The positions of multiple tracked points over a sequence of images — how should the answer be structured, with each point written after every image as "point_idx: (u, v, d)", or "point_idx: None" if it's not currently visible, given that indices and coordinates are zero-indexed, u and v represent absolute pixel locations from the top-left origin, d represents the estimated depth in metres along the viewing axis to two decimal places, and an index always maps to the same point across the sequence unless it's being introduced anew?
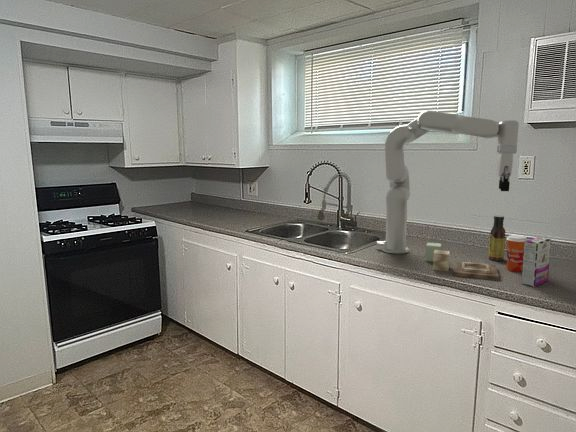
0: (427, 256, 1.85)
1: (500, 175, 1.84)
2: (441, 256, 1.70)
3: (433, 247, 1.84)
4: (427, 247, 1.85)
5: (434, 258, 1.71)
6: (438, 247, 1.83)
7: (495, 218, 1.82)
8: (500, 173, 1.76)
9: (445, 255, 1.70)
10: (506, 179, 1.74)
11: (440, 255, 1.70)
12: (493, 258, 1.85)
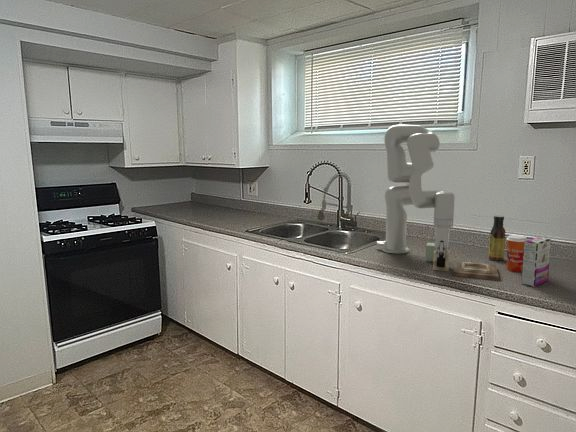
0: (427, 256, 1.85)
1: None
2: None
3: (433, 247, 1.84)
4: (427, 247, 1.85)
5: (434, 258, 1.71)
6: None
7: (495, 218, 1.82)
8: (436, 247, 1.69)
9: (445, 255, 1.70)
10: (441, 256, 1.68)
11: None
12: (493, 258, 1.85)
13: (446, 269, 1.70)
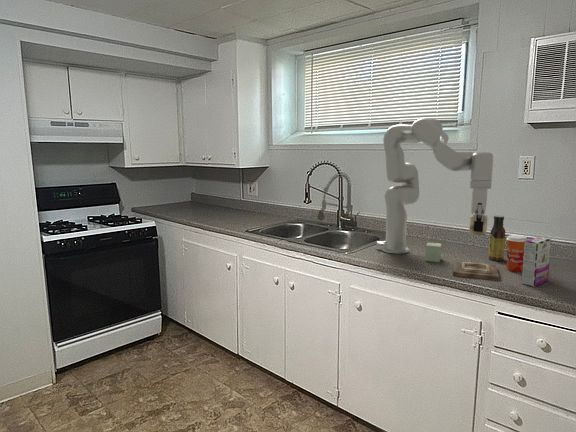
0: (427, 256, 1.85)
1: None
2: None
3: (433, 247, 1.84)
4: (427, 247, 1.85)
5: (471, 222, 1.63)
6: (438, 247, 1.83)
7: (495, 218, 1.82)
8: (473, 210, 1.60)
9: (483, 218, 1.61)
10: (479, 219, 1.59)
11: None
12: (493, 258, 1.85)
13: (484, 233, 1.62)
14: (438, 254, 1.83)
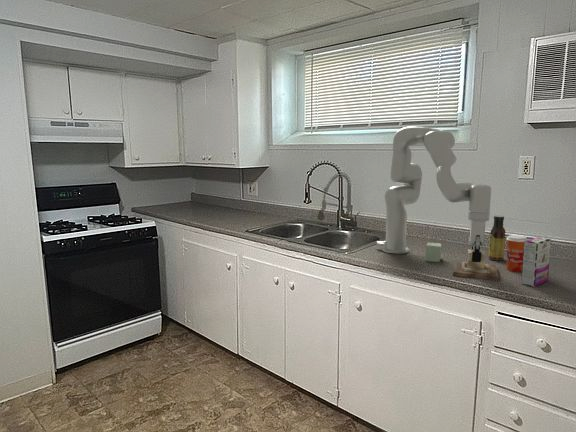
0: (427, 256, 1.85)
1: None
2: None
3: (433, 247, 1.84)
4: (427, 247, 1.85)
5: (469, 258, 1.65)
6: (438, 247, 1.83)
7: (495, 218, 1.82)
8: (471, 242, 1.62)
9: None
10: (477, 250, 1.60)
11: None
12: (493, 258, 1.85)
13: None
14: (438, 254, 1.83)
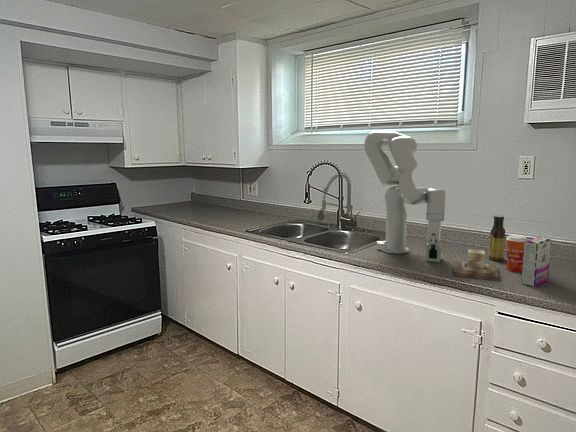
0: (427, 256, 1.85)
1: (431, 240, 1.89)
2: (476, 256, 1.64)
3: None
4: (427, 247, 1.84)
5: (469, 258, 1.65)
6: (438, 247, 1.83)
7: (495, 218, 1.82)
8: (428, 240, 1.82)
9: (480, 255, 1.64)
10: (433, 248, 1.81)
11: (475, 255, 1.64)
12: (493, 258, 1.85)
13: None
14: (438, 254, 1.83)
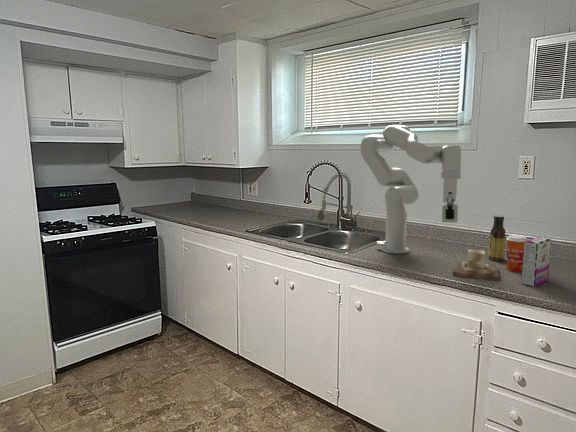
0: (444, 217, 1.75)
1: None
2: (476, 256, 1.64)
3: None
4: (443, 207, 1.75)
5: (469, 258, 1.65)
6: (455, 206, 1.73)
7: (495, 218, 1.82)
8: (444, 199, 1.72)
9: (480, 255, 1.64)
10: (450, 207, 1.72)
11: (475, 255, 1.64)
12: (493, 258, 1.85)
13: None
14: (455, 214, 1.73)
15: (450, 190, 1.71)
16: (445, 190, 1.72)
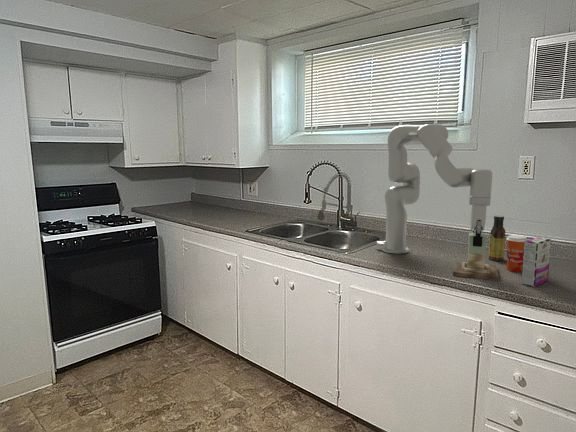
0: (470, 247, 1.65)
1: None
2: (476, 256, 1.64)
3: None
4: (471, 237, 1.64)
5: (469, 258, 1.65)
6: (483, 237, 1.62)
7: (495, 218, 1.82)
8: (472, 227, 1.61)
9: (480, 255, 1.64)
10: (478, 234, 1.59)
11: (475, 255, 1.64)
12: (493, 258, 1.85)
13: None
14: (483, 245, 1.63)
15: (479, 218, 1.60)
16: (474, 217, 1.61)
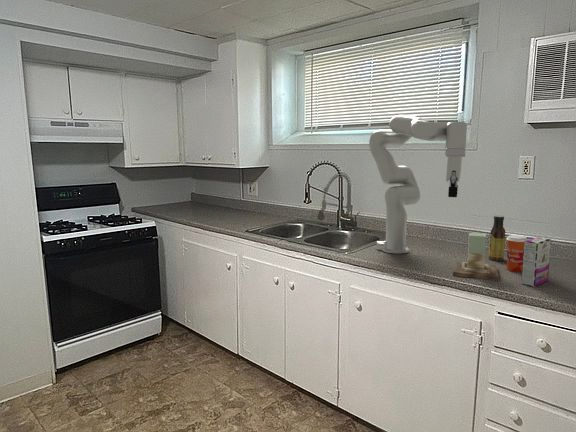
0: (470, 247, 1.65)
1: None
2: (476, 256, 1.64)
3: (478, 237, 1.63)
4: (471, 237, 1.64)
5: (469, 258, 1.65)
6: (483, 237, 1.62)
7: (495, 218, 1.82)
8: (447, 178, 1.65)
9: (480, 255, 1.64)
10: (453, 184, 1.63)
11: (475, 255, 1.64)
12: (493, 258, 1.85)
13: None
14: (483, 245, 1.63)
15: (454, 168, 1.63)
16: (449, 168, 1.64)
